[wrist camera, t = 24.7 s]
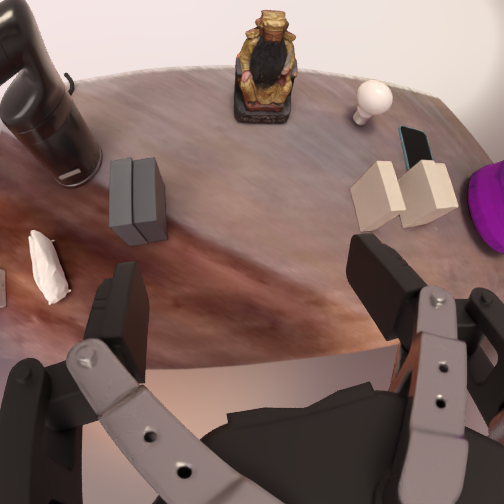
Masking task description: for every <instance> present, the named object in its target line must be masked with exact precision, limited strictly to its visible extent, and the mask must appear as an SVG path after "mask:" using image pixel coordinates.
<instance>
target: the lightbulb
mask: <svg viewBox="0 0 504 504" xmlns="http://www.w3.org/2000/svg"><path fill="white" fill-rule="evenodd" d="M357 101H358V107H357V111H356V112H355V114H354V115H353V120H354V121H355V123H357V124H358V125H364V124H365V123H366V122H367V120H368V119H369V118H371V117H372V116H374V115H380V114H383V113H385V112H387V111H388V110H389V108H390V107H391V105H392V101H393V97H392V93H391V91H390V89H389V87H388V86H387V85H386V84H384V83H383V82H381V81H378V80H368V81H365V82H364V83H362V84H361V85H360V86H359V88H358V91H357Z"/></svg>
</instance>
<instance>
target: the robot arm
mask: <svg viewBox="0 0 504 504" xmlns="http://www.w3.org/2000/svg"><path fill="white" fill-rule="evenodd" d="M18 72H19V73H18ZM16 73H18V75H17V76H16V78H15V79H14V80H13V82H12V83H11V84H10V86H9V87H8V89H7V90H6V92H5V94H4V96H3V98H2V100H1V103H0V118H1V120H2V122H3V123H4V124H5V125H6V127H7V128H8V129H9V130H10V131H11V132H12V133H13V134H14V135H15V137H16V138H17V139H18V140H19V141H20V142H21V143H22V144H23V145H24V146H25V147H26V148H27V150H28V151H29V152H30V153H31V154H32V155H33V156H34V157H35V158H36V159H37V160H38V161H39V162H40V163H41V164H42V165H43V167H44V168H45V169H46V170H47V171H48V172H49V173H50V174H51V175H52V176H53V177H54V178H55V179H56V181H57V182H58V183H59V184H60V185H62V186H63V187H66V188H76V187H79V186H82V185H84V184H85V183H87V182H88V181H89V180H91V179H92V178H93V177H94V175H95V174H96V173H97V171H98V170H99V168H100V165H101V162H102V151H101V148H100V146H99V145H98V143H97V142H96V141H95V139H94V137H93V135H92V134H91V132H90V130H89V128H88V127H87V125H86V123H85V121H84V119H83V118H82V116H81V114H80V112H79V111H78V109H77V107H76V105H75V103H74V101H73V100H72V98H71V96H70V94H71V93H72V91H73V89H74V83H73V80H72V78H71V77H70V76H69V75H68V73H65V74H64V76H65V77H66V78H67V79H68V80H69V83H70V89H69V91H67V89H66V87H65V85H64V83H63V81H62V79H61V78H60V76H59V74H58V72H57V70H56V69H55V67H54V65H53V63H52V61H51V59H50V57H49V55H48V52H47V50H46V47H45V44H44V42H43V39H42V37H41V34H40V31H39V29H38V26H37V23H36V21H35V18H34V15H33V13H32V11H31V9H30V7H29V5H28V4H27V2H26V1H25V0H4V1H2V2H1V3H0V86H1V85H2V84H4V83H5V82H6V81H7V80H9V79H10V78H11V77H13V76H14V75H15V74H16ZM346 275H347V279H348V282H349V284H350V285H351V287H352V288H353V290H354V291H355V293H356V294H357V296H358V297H359V299H360V300H361V302H362V303H363V305H364V306H365V308H366V309H367V311H368V313H369V314H370V316H371V317H372V319H373V320H374V322H375V323H376V325H377V327H378V328H379V330H380V331H381V333H382V335H383V336H384V338H385V339H386V341H389V340H393V339H396V338H399V340H400V343H399V345H398V348H397V354H396V359H395V364H394V370H393V374H392V380H391V384H390V388H389V390H388V391H378V390H376V391H374V389H373V387H372V385H371V383H370V382H366V383H363V384H360V385H357V386H353V387H350V388H346V389H343V390H339V391H337V392H335V393H333V394H331V395H329V396H328V397H326V398H324V399H322V400H320V401H319V402H316V403H314V404H312V405H310V406H308V407H306V408H259V409H253V410H247V411H241V412H234V413H228V414H227V419H228V423H227V424H225V425H222V426H220V427H218V428H216V429H214V430H212V431H211V432H209V433H208V434H206V435H205V436H204V437H202V438H201V439H200V440H199V439H198V438H196V436H194V435H193V434H192V433H191V432H190V431H189V430H188V429H187V428H186V427H185V426H184V425H183V424H182V423H181V422H180V421H179V420H178V419H177V418H176V417H175V416H174V415H173V414H172V413H171V412H170V411H169V410H168V409H167V408H166V407H164V405H163V404H162V403H161V402H160V401H159V400H158V399H157V398H156V397H155V396H154V395H153V394H152V393H151V392H150V391H149V389H147V387H145V386H144V385H139V383H145V370H146V350H147V335H148V322H149V299H148V295H147V291H146V288H145V284H144V281H143V277H142V273H141V270H140V266H139V264H138V262H137V261H133V262H125V263H118V264H117V265H116V268H115V271H114V275H113V278H109V279H105V280H104V281H103V282H102V284H101V285H100V286H99V287H98V289H97V291H96V295H95V298H94V301H93V305H92V310H91V312H90V315H89V319H88V323H87V326H86V330H85V334H84V338H83V341H80V342H79V343H77V344H76V345H74V346H73V347H72V348H71V350H70V351H69V353H68V355H67V358H66V360H65V361H63V362H60V363H57V364H54V365H51V366H48V367H45V368H44V367H43V365H42V364H41V363H40V361H38V360H37V359H34V358H27V359H23V360H21V361H20V362H18V363H17V364H16V365H15V366H14V367H13V368H12V369H11V371H10V373H9V376H8V380H7V384H6V388H5V391H4V396H3V400H2V405H1V409H0V504H83V500H82V427H83V425H85V424H88V423H91V422H94V421H98V420H99V422H100V423H101V425H102V426H103V427H104V429H105V430H106V432H107V433H108V434H109V436H110V437H111V438H112V440H113V441H114V442H115V444H116V445H117V446H118V448H119V449H120V450H121V452H122V453H123V454H124V455H125V457H126V458H127V459H128V460H129V461H130V463H131V464H132V465H133V466H134V468H135V469H136V470H137V471H138V472H139V473H140V475H141V476H142V477H143V478H144V479H145V480H146V481H147V483H149V485H150V486H151V487H152V488H153V489H154V490H155V491H156V492H157V493H158V494H159V495H158V497H157V498H156V500H155V501H154V502H153V503H152V504H504V304H503V303H502V301H501V300H500V299H499V298H498V297H497V296H496V295H495V294H494V293H493V292H491V291H490V290H488V289H485V288H475V289H473V290H472V292H471V294H470V296H469V298H468V299H454V297H453V296H452V295H451V294H450V293H449V292H448V291H447V290H445V289H443V288H441V287H438V286H428V285H427V284H426V283H425V282H424V281H423V280H422V279H421V278H420V277H419V275H418V274H417V273H416V272H415V271H414V270H413V269H412V268H411V267H410V266H408V263H407V262H406V261H405V260H404V259H402V257H401V256H400V255H399V254H398V253H397V252H396V251H395V250H394V249H392V248H391V247H389V246H387V245H385V244H382V243H381V241H380V240H379V239H378V238H377V237H376V236H375V235H374V234H372V233H366V234H357V235H353V236H352V238H351V243H350V249H349V255H348V261H347V266H346ZM485 336H486V337H487V338H488V340H489V341H490V343H491V344H492V345H493V347H494V348H495V350H496V351H497V353H498V362H497V364H496V366H495V367H494V366H493V365H492V363H491V362H490V360H489V359H488V357H487V356H486V354H485V353H484V351H483V350H482V348H481V347H480V343H481V342H482V340H483V338H484V337H485ZM467 389H468V391H469V393H470V395H471V396H472V398H473V400H474V402H475V404H476V405H477V407H478V409H479V411H480V413H481V415H482V417H483V418H484V420H485V422H486V424H487V426H488V428H489V435H488V436H484V435H482V434H480V433H478V432H476V431H474V430H472V429H470V428H468V427H466V426H465V416H466V395H467Z"/></svg>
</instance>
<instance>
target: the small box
mask: <svg viewBox="0 0 504 504" xmlns="http://www.w3.org/2000/svg"><path fill="white" fill-rule="evenodd" d="M3 307H6V285H5V270H2V269H0V308H3Z"/></svg>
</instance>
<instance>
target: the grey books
mask: <svg viewBox="0 0 504 504" xmlns="http://www.w3.org/2000/svg"><path fill="white" fill-rule="evenodd" d="M109 227H110V228H111V229H112V230H113V231H114V232H115V233H116V234H117V235H118V236H119V237H120V238H122V239H123V240H124V241H125V242H126V243H127V244H128V245H129V246H133V245H141V244H148V242H154V241H162V240H168V234H167V220H166V204H165V186H164V183H163V180H162V177H161V175H160V172H159V169H158V166H157V163H156V160H155V157H154V158H147V159H140V160H134V161H133V160H132V158H126V159H120V160H115V161H111V164H110V189H109Z"/></svg>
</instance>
